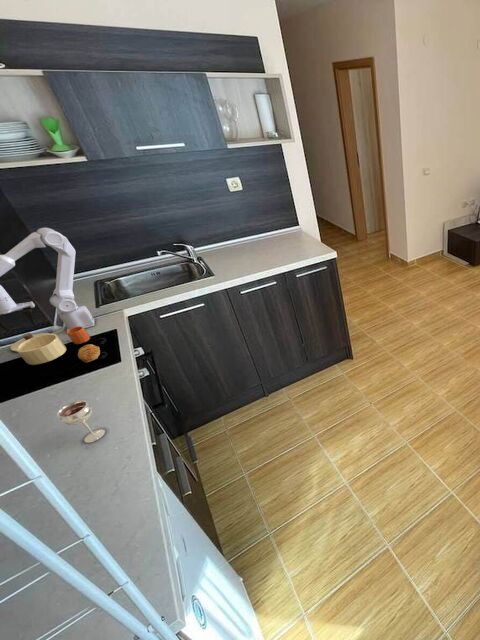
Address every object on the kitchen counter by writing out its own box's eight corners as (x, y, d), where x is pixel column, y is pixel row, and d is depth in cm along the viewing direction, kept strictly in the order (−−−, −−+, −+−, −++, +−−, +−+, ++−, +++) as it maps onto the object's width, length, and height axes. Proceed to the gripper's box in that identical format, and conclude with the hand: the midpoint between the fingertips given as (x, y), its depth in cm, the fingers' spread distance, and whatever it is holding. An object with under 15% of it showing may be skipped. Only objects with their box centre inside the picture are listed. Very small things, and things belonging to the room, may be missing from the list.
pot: (66, 342, 148) (57, 330, 144) (66, 356, 140) (56, 343, 137) (27, 354, 141) (17, 341, 138) (24, 368, 134) (13, 355, 130)
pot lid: (54, 331, 155) (48, 323, 153) (52, 344, 147) (46, 335, 144) (14, 342, 148) (7, 334, 146) (10, 356, 140) (2, 347, 138)
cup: (90, 335, 152) (83, 324, 149) (90, 340, 149) (83, 330, 146) (74, 339, 149) (66, 329, 146) (73, 345, 146) (66, 335, 143)
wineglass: (93, 446, 103) (70, 419, 97) (74, 443, 104) (50, 416, 98) (114, 428, 109) (93, 401, 102) (96, 425, 110) (74, 398, 103)
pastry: (103, 358, 138) (98, 351, 136) (81, 366, 135) (75, 358, 132) (100, 348, 144) (95, 341, 142) (79, 355, 140) (73, 348, 138)
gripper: (-31, 308, 129) (-5, 338, 137) (23, 296, 137) (45, 324, 144) (-27, 301, 134) (-2, 330, 141) (25, 290, 142) (46, 317, 149)
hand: (22, 327), depth 143 cm, fingers open, 7 cm apart
